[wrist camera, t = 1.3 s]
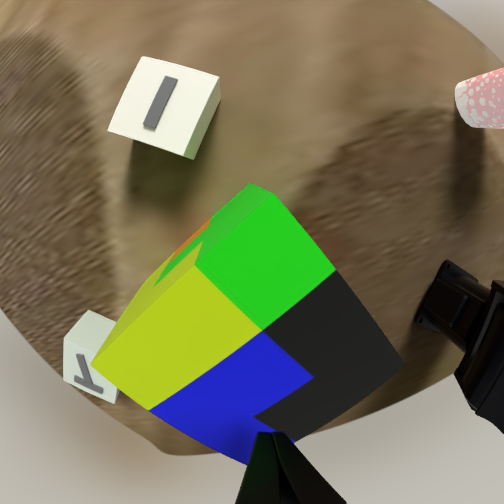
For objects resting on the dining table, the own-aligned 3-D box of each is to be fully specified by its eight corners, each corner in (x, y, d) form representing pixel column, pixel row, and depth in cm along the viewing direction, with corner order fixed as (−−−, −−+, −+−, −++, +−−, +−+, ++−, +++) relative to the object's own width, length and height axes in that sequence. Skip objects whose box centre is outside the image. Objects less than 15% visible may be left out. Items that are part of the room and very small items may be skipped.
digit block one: (221, 99, 16) (218, 75, 12) (193, 160, 17) (182, 155, 13) (160, 80, 16) (141, 54, 11) (133, 139, 17) (105, 130, 12)
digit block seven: (138, 330, 20) (120, 366, 16) (129, 369, 21) (114, 405, 17) (88, 309, 20) (62, 339, 15) (84, 349, 21) (62, 381, 16)
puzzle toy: (238, 363, 22) (247, 465, 12) (145, 280, 19) (89, 364, 10) (337, 286, 21) (405, 365, 11) (249, 183, 18) (274, 193, 8)
